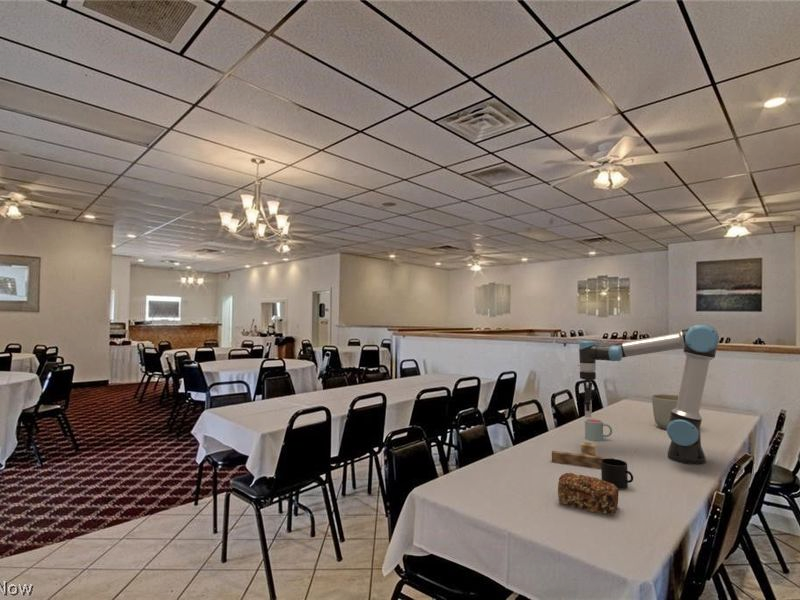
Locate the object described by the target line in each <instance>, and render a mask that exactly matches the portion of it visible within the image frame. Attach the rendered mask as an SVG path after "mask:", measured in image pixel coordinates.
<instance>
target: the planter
mask: <svg viewBox="0 0 800 600" xmlns="http://www.w3.org/2000/svg"><path fill="white" fill-rule="evenodd" d="M678 396H679V394H677V395H676V394H663V393H662V394H661V393H660V394H653V395H652V396H651V400H652V401H651V402H652V412H653V419H654V422H655V424H656V425H657V426H658V427H659V428H660V429H663V430H665V431H667V426H668V424H669V420H670V414H671V410H672V409H674V408H676V406H677V401H678Z"/></svg>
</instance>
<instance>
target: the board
mask: <svg viewBox="0 0 800 600" xmlns="http://www.w3.org/2000/svg"><path fill="white" fill-rule="evenodd" d="M607 458H608V457H606V456H599V455H595V456H592V455H587V454H586V455H584V454H581V453H574V452H566V451H558V450H552V451H551V463H554V464H555V463H556V464H562V465H569V466H570V465H571V466H575V467H576V466H577V467H584V468H590V469H591V468H592V469H599V470H601V460H602V459H607ZM610 458H611V459H615V458H614V457H610Z"/></svg>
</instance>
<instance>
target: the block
mask: <svg viewBox="0 0 800 600" xmlns="http://www.w3.org/2000/svg"><path fill="white" fill-rule="evenodd" d="M580 443H581V444H580V454H584V455H586V454H587V455H592V456H596V443H595V442H587V441H586V442H585V441H581V442H580Z"/></svg>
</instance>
